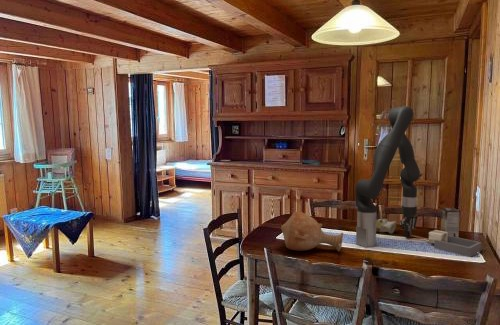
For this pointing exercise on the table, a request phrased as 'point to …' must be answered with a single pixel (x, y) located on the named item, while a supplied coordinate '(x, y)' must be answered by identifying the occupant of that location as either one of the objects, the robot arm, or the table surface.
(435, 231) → the wooden mallet
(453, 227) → the coffee box
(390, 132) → the robot arm
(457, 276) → the table surface
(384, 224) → the ceramic sculpture
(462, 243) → the gray tray
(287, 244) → the jug
